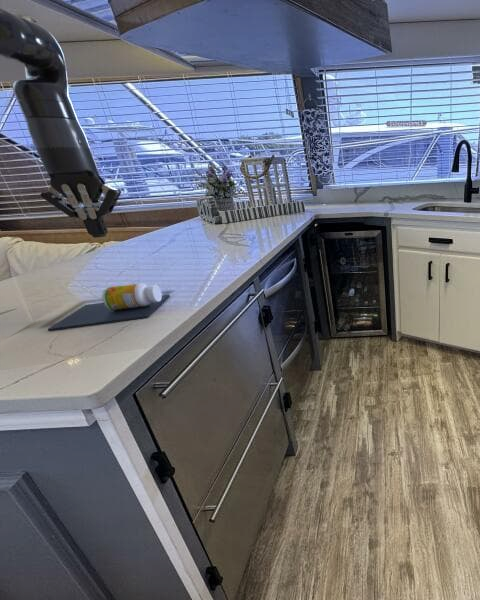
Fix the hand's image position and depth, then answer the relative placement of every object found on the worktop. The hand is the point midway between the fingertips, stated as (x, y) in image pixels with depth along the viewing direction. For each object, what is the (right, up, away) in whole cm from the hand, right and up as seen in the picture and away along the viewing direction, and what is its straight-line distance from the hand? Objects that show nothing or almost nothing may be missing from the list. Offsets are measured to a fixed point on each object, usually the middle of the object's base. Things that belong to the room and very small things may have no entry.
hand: (99, 236), depth 68 cm
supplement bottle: (-3, -13, +5) cm, 14 cm away
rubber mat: (-2, -16, +6) cm, 18 cm away
